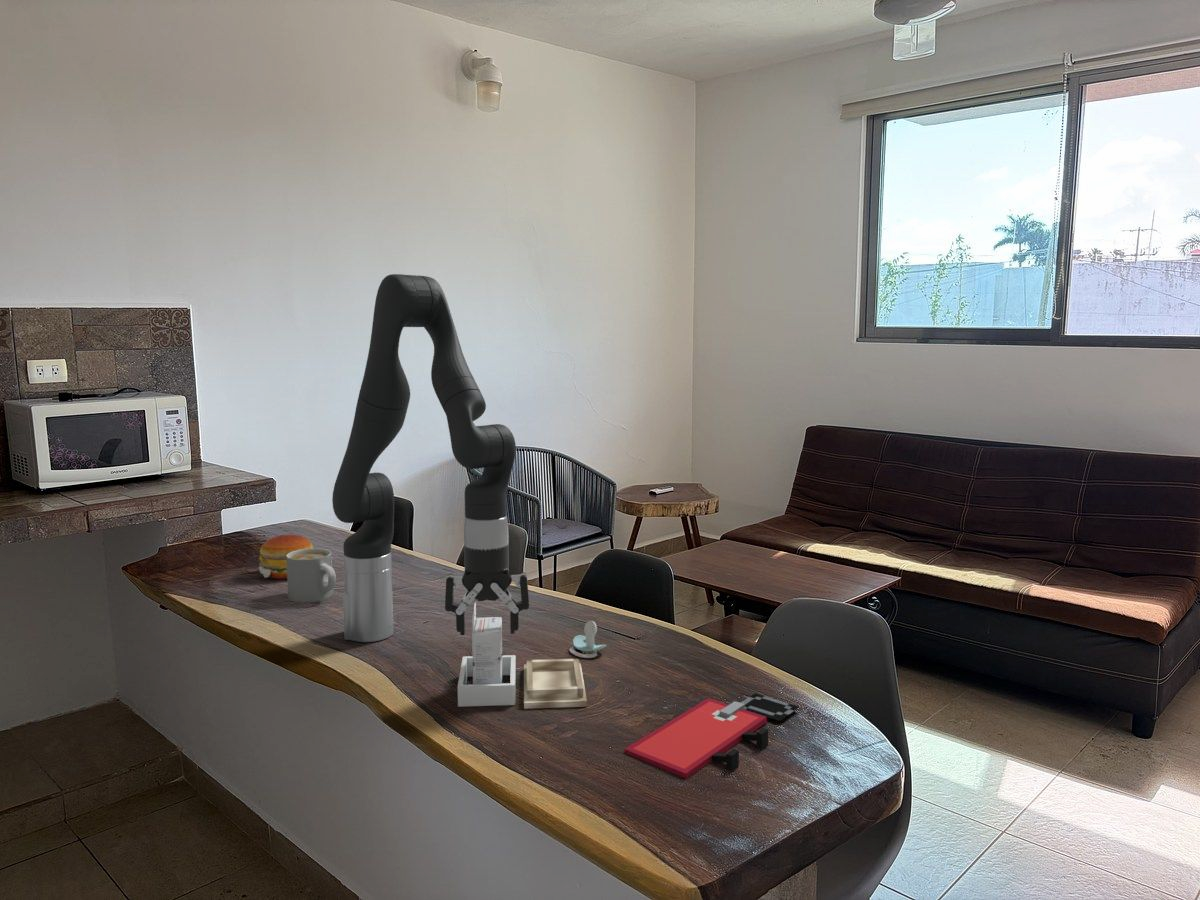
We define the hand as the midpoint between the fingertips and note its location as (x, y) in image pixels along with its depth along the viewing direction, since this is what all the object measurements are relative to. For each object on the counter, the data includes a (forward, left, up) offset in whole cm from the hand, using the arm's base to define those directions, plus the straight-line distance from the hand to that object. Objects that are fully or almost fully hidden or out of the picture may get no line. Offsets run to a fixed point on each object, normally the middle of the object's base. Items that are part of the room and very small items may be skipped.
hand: (487, 633), depth 149 cm
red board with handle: (+37, -18, -11) cm, 43 cm away
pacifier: (+18, +16, -11) cm, 26 cm away
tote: (0, 0, -10) cm, 10 cm away
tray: (+11, 0, -10) cm, 15 cm away
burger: (-53, +72, -11) cm, 90 cm away
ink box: (0, 0, -11) cm, 11 cm away
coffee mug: (-42, +53, -11) cm, 69 cm away
